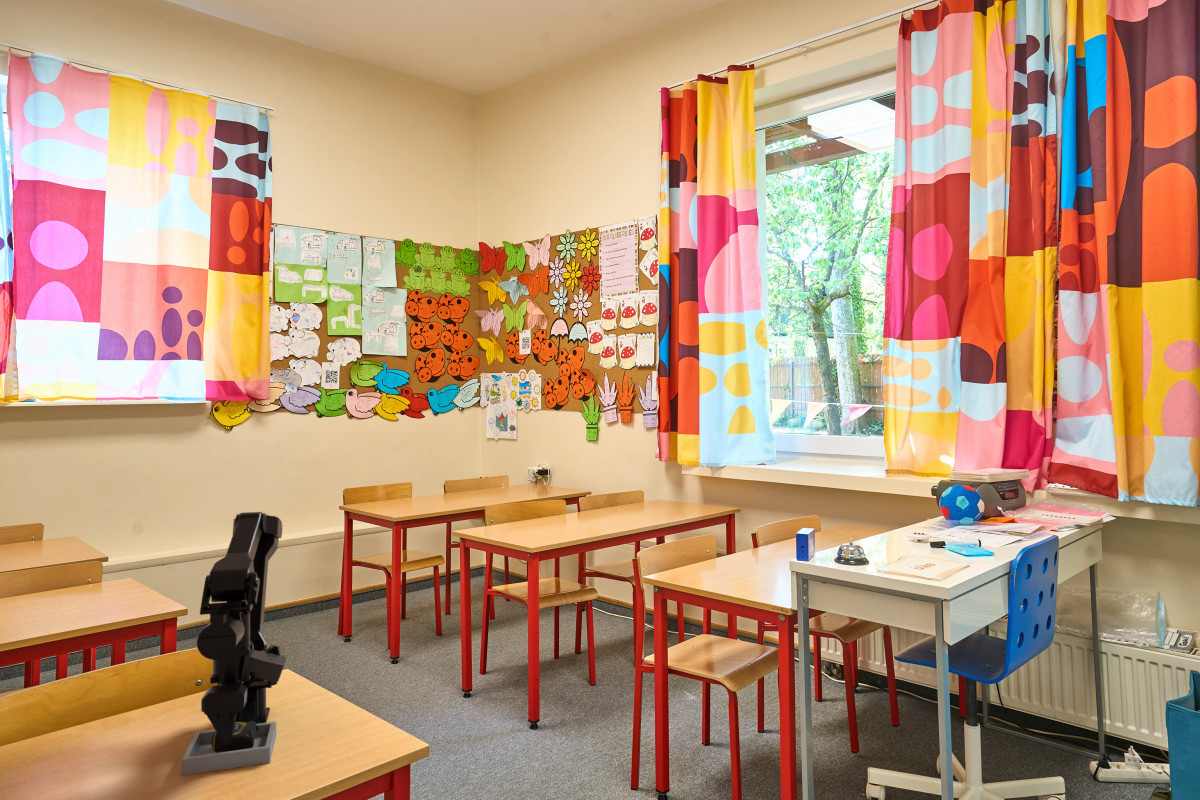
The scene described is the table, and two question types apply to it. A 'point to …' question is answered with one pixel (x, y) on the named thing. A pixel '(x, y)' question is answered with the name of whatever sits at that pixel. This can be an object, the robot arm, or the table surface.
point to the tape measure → (237, 737)
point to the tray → (228, 752)
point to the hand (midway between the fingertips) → (231, 732)
